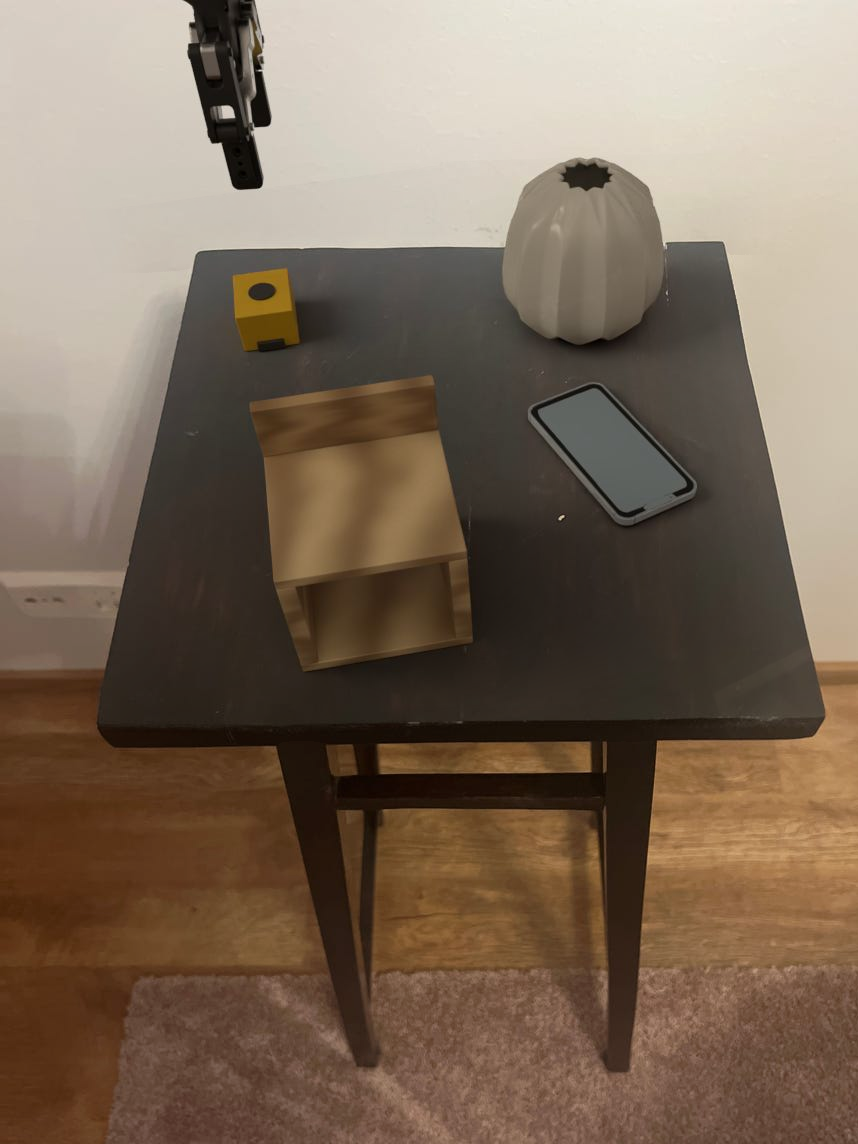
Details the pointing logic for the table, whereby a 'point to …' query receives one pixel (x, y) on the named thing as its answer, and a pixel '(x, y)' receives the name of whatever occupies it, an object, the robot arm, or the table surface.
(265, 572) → the table surface
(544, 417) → the smartphone
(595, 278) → the vase
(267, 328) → the measuring tape
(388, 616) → the shelf
